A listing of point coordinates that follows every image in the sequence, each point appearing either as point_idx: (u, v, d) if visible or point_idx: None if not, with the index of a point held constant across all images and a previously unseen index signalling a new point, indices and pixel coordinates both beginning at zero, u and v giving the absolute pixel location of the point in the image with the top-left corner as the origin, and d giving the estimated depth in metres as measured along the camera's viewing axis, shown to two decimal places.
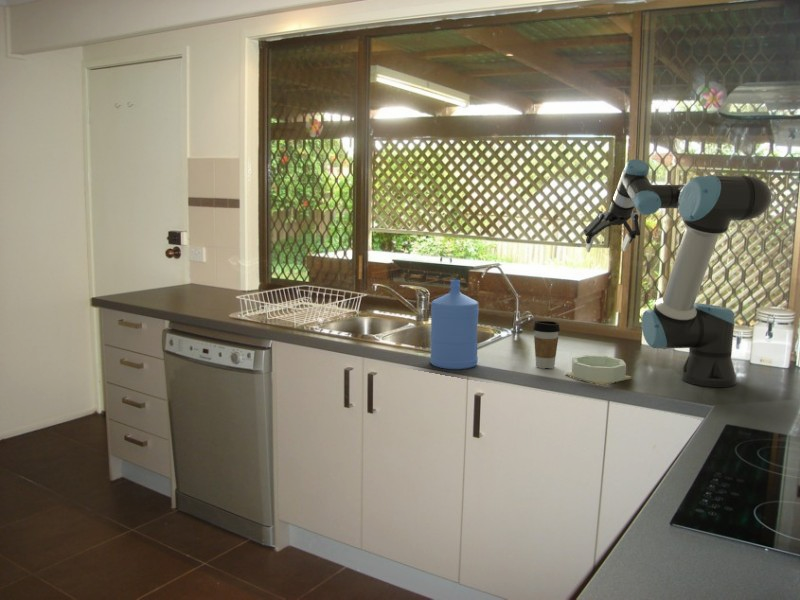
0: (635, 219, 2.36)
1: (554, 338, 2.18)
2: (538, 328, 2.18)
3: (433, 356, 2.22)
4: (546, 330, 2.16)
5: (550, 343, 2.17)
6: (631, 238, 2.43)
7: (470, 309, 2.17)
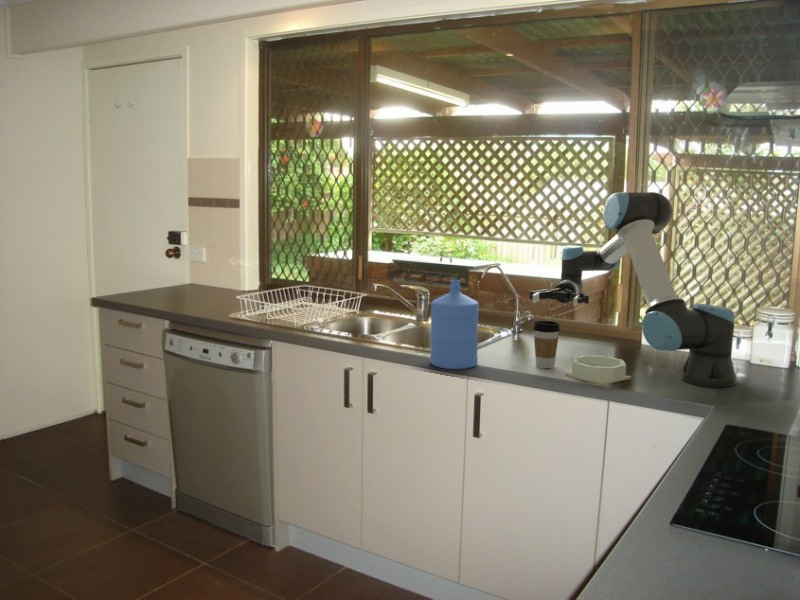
0: (579, 292, 2.38)
1: (554, 338, 2.18)
2: (538, 328, 2.18)
3: (433, 356, 2.22)
4: (546, 330, 2.16)
5: (550, 343, 2.17)
6: (580, 298, 2.30)
7: (470, 309, 2.17)
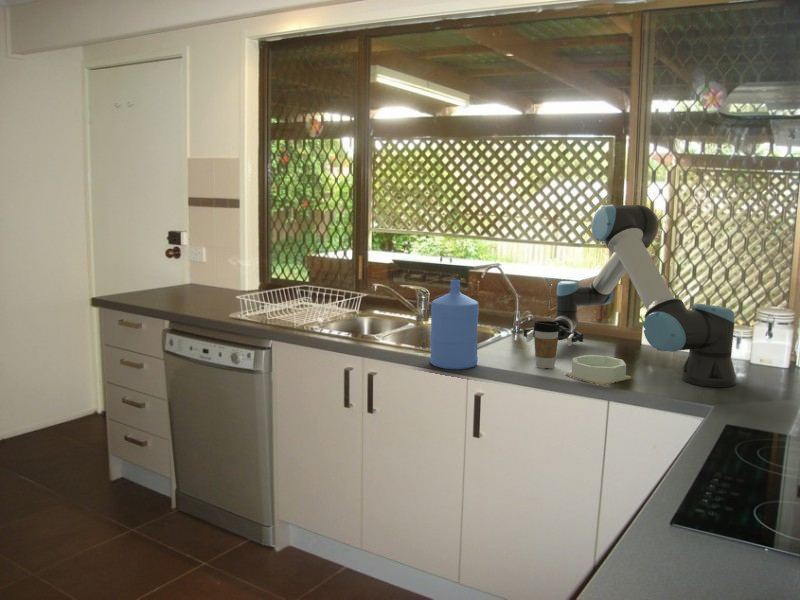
0: (574, 329, 2.37)
1: (554, 338, 2.18)
2: (538, 328, 2.18)
3: (433, 356, 2.22)
4: (546, 330, 2.16)
5: (550, 343, 2.17)
6: (574, 336, 2.28)
7: (470, 309, 2.17)
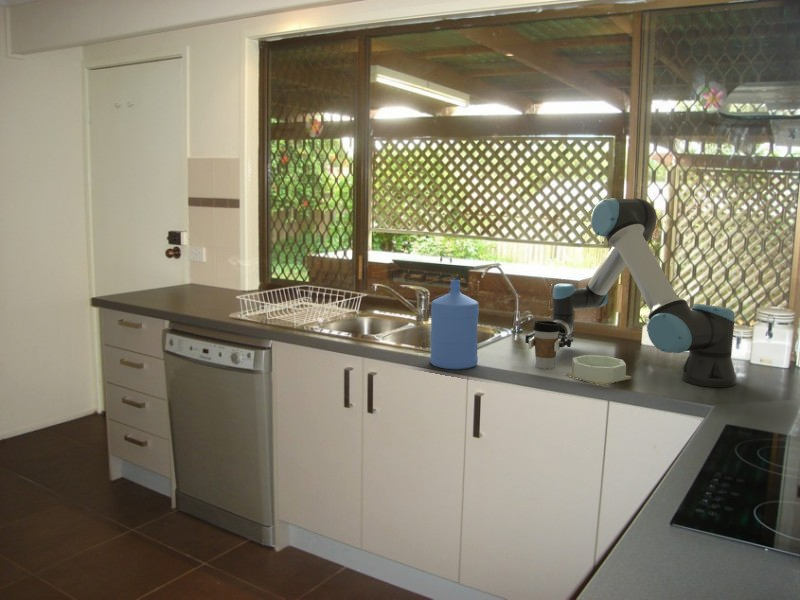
0: (569, 334, 2.28)
1: (554, 338, 2.18)
2: (538, 328, 2.18)
3: (433, 356, 2.22)
4: (546, 330, 2.16)
5: (550, 343, 2.17)
6: (562, 341, 2.20)
7: (470, 309, 2.17)
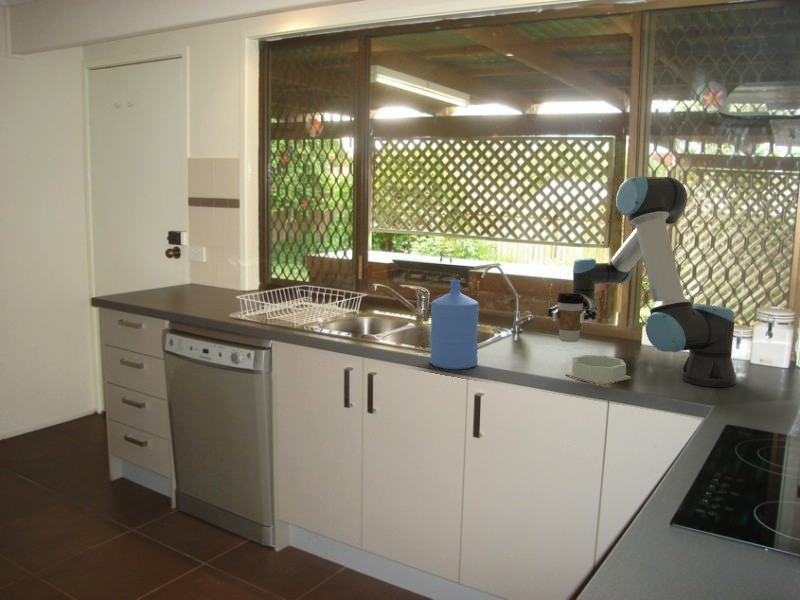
0: (593, 307, 2.22)
1: (579, 310, 2.12)
2: (563, 300, 2.12)
3: (433, 356, 2.22)
4: (571, 301, 2.10)
5: (575, 315, 2.11)
6: (587, 314, 2.14)
7: (470, 309, 2.17)
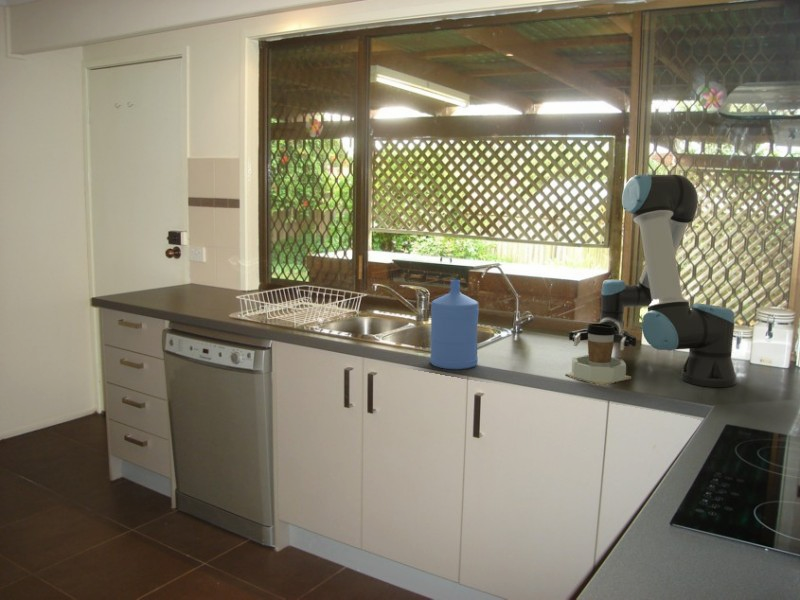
0: (624, 332, 2.16)
1: (610, 342, 2.05)
2: (593, 331, 2.05)
3: (433, 356, 2.22)
4: (601, 333, 2.04)
5: (605, 347, 2.05)
6: (627, 340, 2.07)
7: (470, 309, 2.17)
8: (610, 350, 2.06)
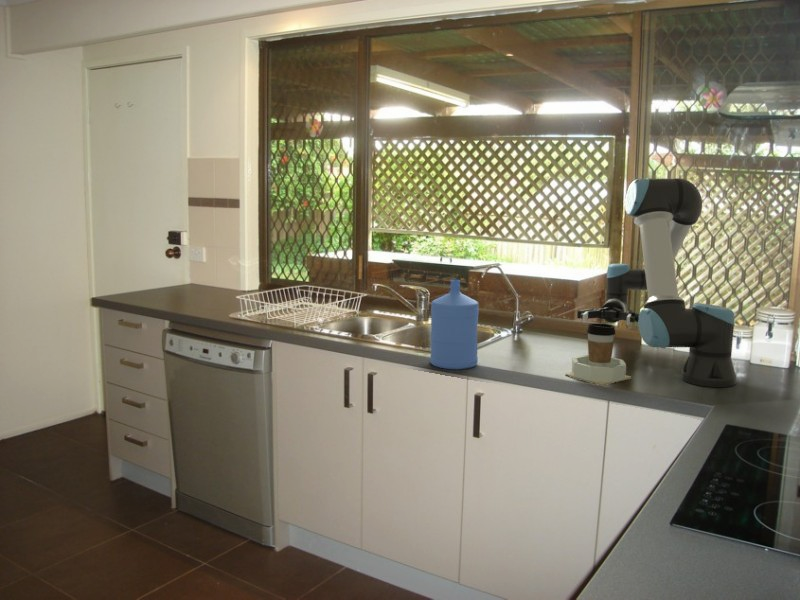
0: (629, 311, 2.29)
1: (610, 342, 2.05)
2: (593, 331, 2.05)
3: (433, 356, 2.22)
4: (601, 333, 2.04)
5: (605, 347, 2.05)
6: (632, 316, 2.20)
7: (470, 309, 2.17)
8: (610, 350, 2.06)
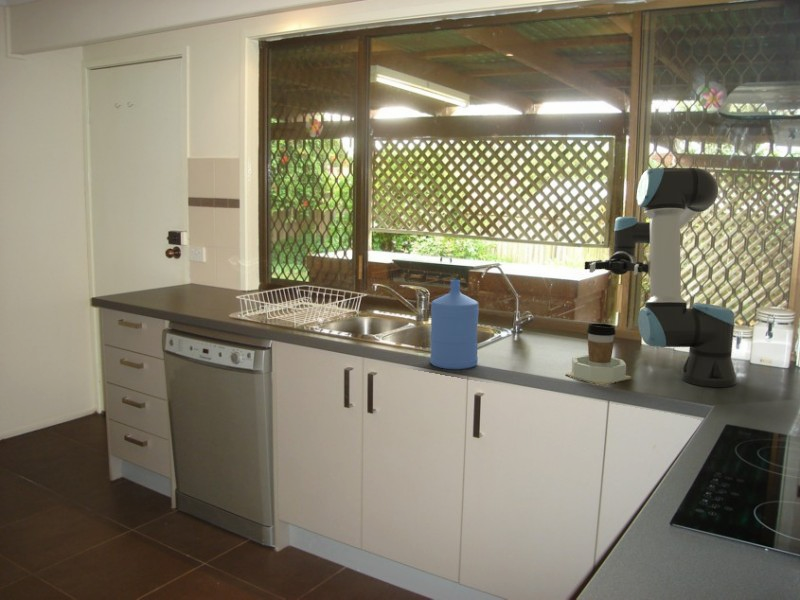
0: (637, 262, 2.29)
1: (610, 342, 2.05)
2: (593, 331, 2.05)
3: (433, 356, 2.22)
4: (602, 333, 2.04)
5: (605, 347, 2.05)
6: (640, 266, 2.20)
7: (470, 309, 2.17)
8: (610, 350, 2.06)
